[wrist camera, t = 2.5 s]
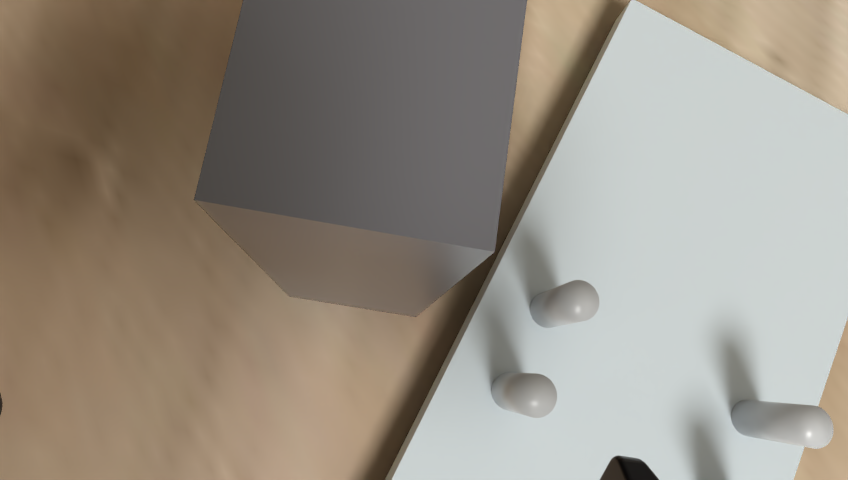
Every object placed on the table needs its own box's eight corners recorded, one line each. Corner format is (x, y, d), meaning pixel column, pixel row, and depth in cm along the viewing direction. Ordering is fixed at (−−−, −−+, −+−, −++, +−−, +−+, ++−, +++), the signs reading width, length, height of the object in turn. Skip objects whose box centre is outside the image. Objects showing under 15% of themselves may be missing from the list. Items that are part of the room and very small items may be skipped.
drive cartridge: (415, 317, 21) (494, 251, 9) (289, 296, 21) (194, 200, 9) (439, 166, 22) (536, -69, 10) (320, 144, 22) (274, -125, 10)
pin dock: (678, 715, 19) (772, 817, 15) (354, 540, 19) (353, 591, 15) (872, 158, 25) (984, 113, 20) (615, 20, 25) (671, -55, 20)
